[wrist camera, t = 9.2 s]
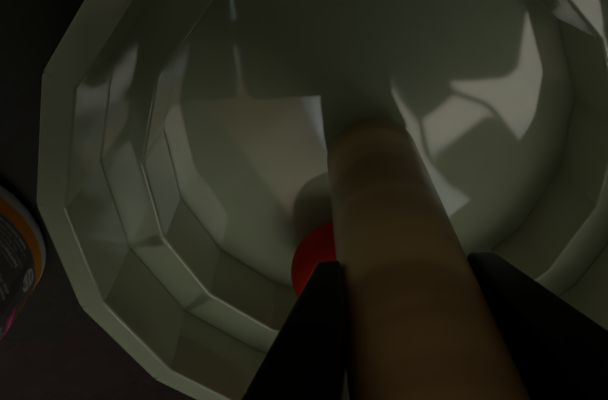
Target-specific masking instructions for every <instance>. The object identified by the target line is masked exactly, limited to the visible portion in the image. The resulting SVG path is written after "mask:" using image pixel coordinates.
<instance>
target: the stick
mask: <svg viewBox="0 0 608 400" xmlns="http://www.w3.org/2000/svg"><path fill="white" fill-rule="evenodd" d="M327 166H328V177H329V188H330V199H331V210H332V220H333V231H334V242H335V253H336V260H338V261H339V262H340V264H341V271H342V279H343V287H344V295H345V311H346V350H345V358H346V372H347V383H348V394H349V400H531V398H530V395H529V393H528V391H527V389H526V387H525V384H524V382H523V380H522V378H521V376H520V373H519V371H518V369H517V367H516V365H515V362H514V360H513V358H512V356H511V354H510V351H509V349H508V347H507V345H506V343H505V340H504V338H503V336H502V334H501V332H500V329H499V327H498V325H497V323H496V321H495V318H494V316H493V314H492V312H491V310H490V307H489V305H488V303H487V301H486V299H485V296H484V294H483V292H482V290H481V288H480V285H479V283H478V281H477V279H476V277H475V274H474V272H473V270H472V268H471V266H470V263H469V261H468V259H467V257H466V255H465V252H464V250H463V248H462V246H461V243H460V241H459V239H458V237H457V235H456V232H455V230H454V228H453V226H452V224H451V221H450V219H449V217H448V215H447V213H446V210H445V208H444V206H443V204H442V202H441V199H440V197H439V195H438V193H437V191H436V188H435V186H434V184H433V182H432V180H431V177H430V175H429V173H428V171H427V169H426V166H425V164H424V162H423V160H422V158H421V155H420V153H419V151H418V149H417V147H416V144H415V142H414V140H413V138H412V136H411V135H410V133H409V132H408V131H407V130H406V129H405V128H404V127H403V126H401V125H400V124H398V123H396V122H394V121H392V120H389V119H385V118H378V117H373V118H365V119H361V120H358V121H355V122H353V123H351V124H349V125H348V126H346V127H345V128H343V129H342V130H341V131H340V132H339V133H338V134H337V135H336V137H335V138H334V140H333V141H332V143H331V145H330V147H329V151H328V156H327Z"/></svg>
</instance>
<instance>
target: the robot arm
mask: <svg viewBox="0 0 608 400" xmlns="http://www.w3.org/2000/svg"><path fill="white" fill-rule="evenodd" d="M467 259H468V261H469V263H470V266H471V268H472V270H473V272H474V274H475V277H476V279H477V281H478V283H479V285H480V288H481V290H482V292H483V294H484V296H485V299H486V301H487V303H488V305H489V307H490V310H491V312H492V314H493V316H494V318H495V321H496V323H497V325H498V327H499V329H500V332H501V334H502V336H503V338H504V340H505V343H506V345H507V347H508V349H509V351H510V354H511V356H512V358H513V360H514V362H515V365H516V367H517V369H518V371H519V373H520V376H521V378H522V380H523V382H524V384H525V387H526V389H527V391H528V393H529V395H530V398H531V400H608V330H606V329H605V328H603V327H602V326H600V325H599V324H597V323H596V322H594V321H593V320H592V319H590V318H589V317H587V316H586V315H584V314H583V313H581V312H580V311H579V310H577V309H576V308H574V307H573V306H571V305H570V304H568V303H567V302H565V301H564V300H563V299H561V298H560V297H558V296H557V295H555V294H554V293H552V292H551V291H550V290H548V289H547V288H545V287H544V286H542V285H541V284H539V283H538V282H536V281H535V280H534V279H532V278H531V277H529V276H528V275H526V274H525V273H523V272H522V271H521V270H519V269H518V268H516V267H515V266H513V265H512V264H510V263H509V262H507V261H506V260H505V259H503V258H502V257H500V256H499V255H497V254H496V253H494V252H492V251H477V252H471V253H470V254H469V255H468V257H467ZM345 350H346V311H345V295H344V287H343V279H342V271H341V264H340V262H339V261H338V260H330V261H319V262H318V263H317V264H316V266H315V268H314V270H313V271H312V273H311V275H310V277H309V279H308V280H307V282H306V284H305V286H304V288H303V289H302V291H301V293H300V295H299V297H298V298H297V300H296V302H295V304H294V306H293V307H292V309H291V311H290V313H289V315H288V316H287V318H286V320H285V322H284V324H283V325H282V327H281V329H280V331H279V333H278V334H277V336H276V338H275V340H274V342H273V343H272V345H271V347H270V349H269V350H268V352H267V354H266V356H265V358H264V359H263V361H262V363H261V365H260V367H259V368H258V370H257V372H256V374H255V376H254V377H253V379H252V381H251V383H250V385H249V386H248V388H247V393H245V394H244V395H243V397H242V399H241V400H348V383H347V372H346V358H345Z"/></svg>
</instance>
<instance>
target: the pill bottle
mask: <svg viewBox="0 0 608 400" xmlns="http://www.w3.org/2000/svg"><path fill="white" fill-rule="evenodd" d="M45 261H46V248H45V243H44V239H43V236H42V233H41V231H40V228H39V226H38V225H37V223H36V221H35V219H34V218H33V216H32V215H31V213H30V212H29V211H28V209H27V208H26V207H25V206H24V205H23V204H22V203H21V202H20V200H18V199H17V198H16V197H15V196H14V195H13V194H12V193H10V192H9V191H8V190H7V189H5V188H4V187H2V186H0V341H1V339H2V338H3V337H4V335H5V334H6V332H7V331H8V329H9V328H10V326H11V325H12V323H13V321H14V320H15V318H16V317H17V315H18V314H19V312H20V310H21V309H22V308H23V306H24V305H25V303H26V301H27V299H28V298H29V296H30V295H31V293H32V292H33V290H34V288H35V287H36V285H37V283H38V282H39V280H40V278H41V276H42V273H43V270H44V267H45Z"/></svg>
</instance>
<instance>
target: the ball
mask: <svg viewBox="0 0 608 400" xmlns="http://www.w3.org/2000/svg"><path fill="white" fill-rule="evenodd" d="M330 260H336V253H335V242H334V231H333V221H332V222H328V223H325V224H323V225H320V226H318V227H317V228H315V229H313V230H312V231H311V232H310V233H308V234H307V235H306V236H305V237H304V239H303V240H302V241H301V242H300V244H299V245H298V247H297V249H296V251H295V254H294V257H293V260H292V265H291V279H292V285H293V288H294V291H295V294H296V296H297V298H298V297H299V295H300V293H301V291H302V289H303V288H304V286H305V284H306V282H307V280H308V279H309V277H310V275H311V273H312V271H313V270H314V268H315V266H316V264H317V263H318V262H319V261H330Z"/></svg>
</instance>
